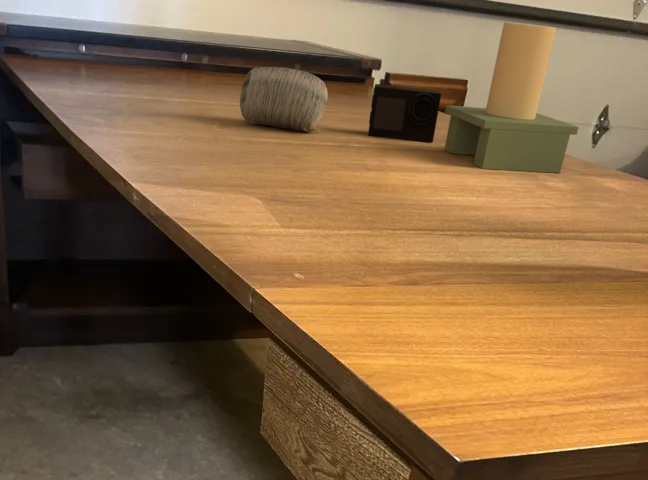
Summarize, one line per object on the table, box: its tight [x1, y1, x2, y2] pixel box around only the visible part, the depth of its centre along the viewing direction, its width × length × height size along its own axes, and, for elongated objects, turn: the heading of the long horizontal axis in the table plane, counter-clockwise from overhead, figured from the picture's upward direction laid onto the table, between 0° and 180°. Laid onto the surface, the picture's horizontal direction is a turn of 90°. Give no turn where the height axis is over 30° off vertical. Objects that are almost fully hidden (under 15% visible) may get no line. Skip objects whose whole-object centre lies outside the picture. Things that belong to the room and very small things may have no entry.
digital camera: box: [367, 83, 442, 143], centre depth 128 cm, size 10×5×7 cm, turn 83°
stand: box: [444, 104, 580, 174], centre depth 118 cm, size 14×14×6 cm
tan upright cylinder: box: [485, 21, 557, 120], centre depth 113 cm, size 7×7×11 cm
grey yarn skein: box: [239, 66, 329, 133], centre depth 125 cm, size 14×10×10 cm
